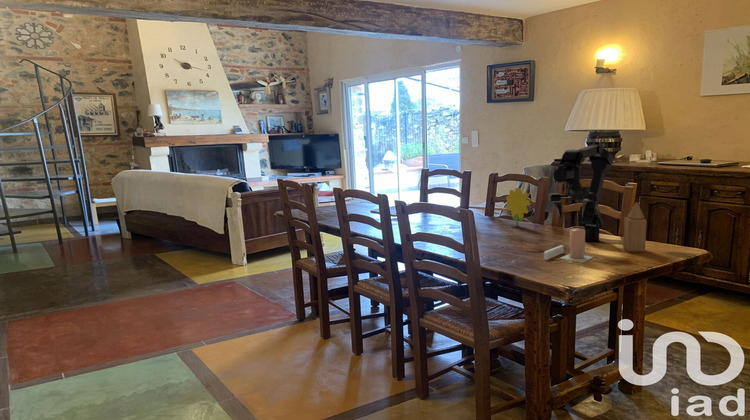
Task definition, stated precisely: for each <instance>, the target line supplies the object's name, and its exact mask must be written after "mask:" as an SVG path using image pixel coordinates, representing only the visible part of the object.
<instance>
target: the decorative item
mask: <svg viewBox="0 0 750 420" xmlns="http://www.w3.org/2000/svg"><path fill="white" fill-rule="evenodd" d="M528 197H529V194H528V192H522V189H521V188H520V187H515V189H510V190H509V195H507V196H505V199H506V201H507V204H506V205H505V209H506V210H508V211H511V217H512V220H513V221H516V222H515V223H516V226H517V227H519V221H520V222H523V220H524V216H525V215H524V214H528V213H529V209H528V206H530V205H531V201H530V200H529V199H528Z"/></svg>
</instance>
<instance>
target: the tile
mask: <svg viewBox="0 0 750 420" xmlns="http://www.w3.org/2000/svg"><path fill="white" fill-rule="evenodd" d="M559 259H560V260H563V261H564V260H565V261H571V262H576V263H582V264H584V263H585V262H588V261H590V260H592V259H594V256H589V255H585V254H584V259H572V258H569V253H568V254H566V255H563V256H561V257H560V258H559Z"/></svg>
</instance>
